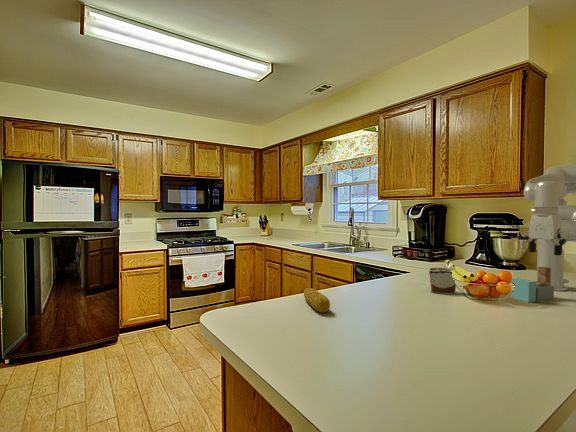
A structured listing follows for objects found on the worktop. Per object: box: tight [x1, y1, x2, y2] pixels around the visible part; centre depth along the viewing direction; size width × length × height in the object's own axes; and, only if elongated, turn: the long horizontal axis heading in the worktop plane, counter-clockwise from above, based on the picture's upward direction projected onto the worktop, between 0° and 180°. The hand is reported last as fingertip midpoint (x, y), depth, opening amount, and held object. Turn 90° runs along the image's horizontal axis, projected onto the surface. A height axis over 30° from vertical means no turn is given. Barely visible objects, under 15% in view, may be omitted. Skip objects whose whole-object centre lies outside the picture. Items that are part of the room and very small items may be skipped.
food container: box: [427, 267, 457, 295], centre depth 139 cm, size 12×6×10 cm, turn 84°
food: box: [303, 287, 331, 314], centre depth 117 cm, size 21×6×6 cm, turn 14°
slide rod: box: [536, 267, 551, 287], centre depth 131 cm, size 7×3×9 cm, turn 108°
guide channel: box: [536, 286, 555, 302], centre depth 131 cm, size 9×6×5 cm, turn 108°
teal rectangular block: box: [510, 277, 537, 303], centre depth 128 cm, size 4×7×8 cm, turn 18°
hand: (544, 253), depth 131 cm, fingers open, 9 cm apart
